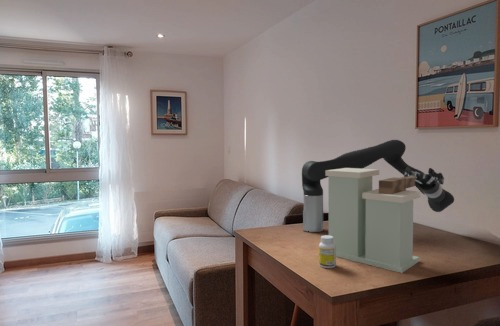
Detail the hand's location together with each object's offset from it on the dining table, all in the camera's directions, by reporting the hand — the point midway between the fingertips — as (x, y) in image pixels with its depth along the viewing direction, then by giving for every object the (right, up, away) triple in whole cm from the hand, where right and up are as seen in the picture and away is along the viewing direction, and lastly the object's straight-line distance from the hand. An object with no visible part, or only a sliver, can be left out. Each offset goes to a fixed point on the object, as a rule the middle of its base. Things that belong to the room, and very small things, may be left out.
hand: (418, 169), depth 142 cm
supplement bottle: (-40, -33, -18) cm, 55 cm away
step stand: (-22, -32, -10) cm, 40 cm away
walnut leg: (-13, -7, -13) cm, 20 cm away
